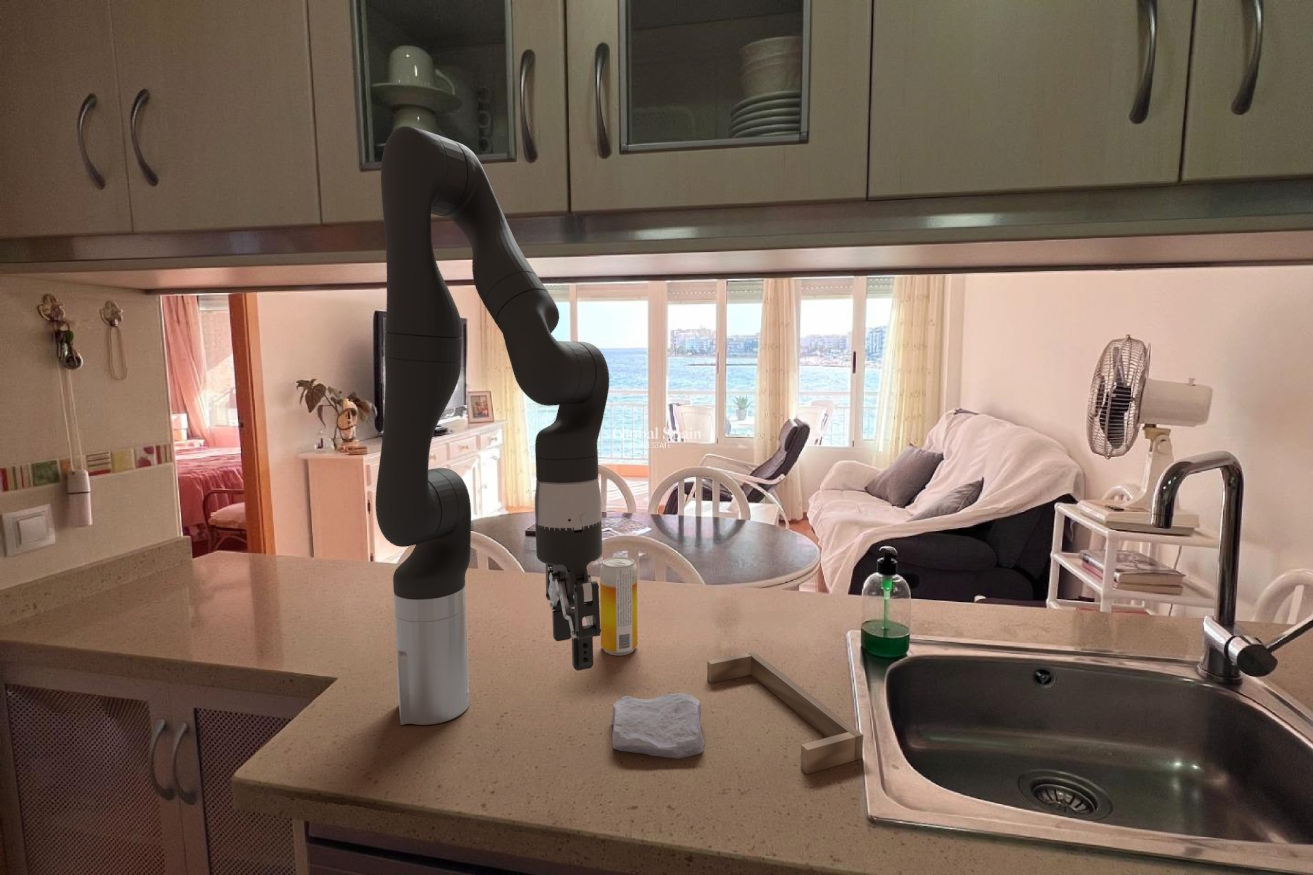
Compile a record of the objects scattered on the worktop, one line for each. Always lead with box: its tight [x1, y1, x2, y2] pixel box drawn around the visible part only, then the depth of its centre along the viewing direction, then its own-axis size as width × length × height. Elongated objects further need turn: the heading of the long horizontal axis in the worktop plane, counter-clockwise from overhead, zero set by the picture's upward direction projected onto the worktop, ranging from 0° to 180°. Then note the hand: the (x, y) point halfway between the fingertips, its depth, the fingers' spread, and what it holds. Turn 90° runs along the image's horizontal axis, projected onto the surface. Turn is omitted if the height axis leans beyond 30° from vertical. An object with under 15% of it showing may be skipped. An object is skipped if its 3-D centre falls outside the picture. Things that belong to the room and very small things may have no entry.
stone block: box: [611, 692, 705, 760], centre depth 86 cm, size 12×5×10 cm
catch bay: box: [706, 651, 864, 775], centre depth 91 cm, size 8×25×3 cm, turn 23°
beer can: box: [599, 556, 638, 656], centre depth 111 cm, size 6×6×15 cm
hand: (572, 653), depth 79 cm, fingers open, 8 cm apart
